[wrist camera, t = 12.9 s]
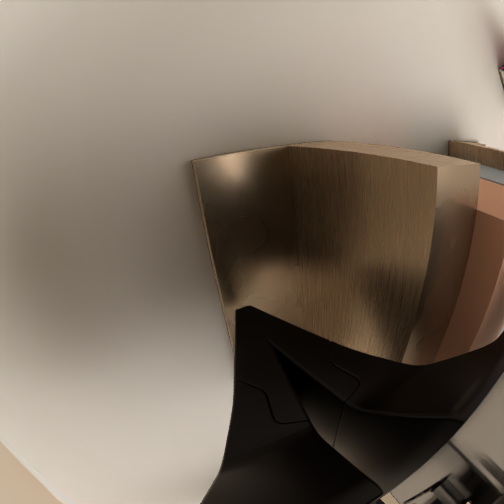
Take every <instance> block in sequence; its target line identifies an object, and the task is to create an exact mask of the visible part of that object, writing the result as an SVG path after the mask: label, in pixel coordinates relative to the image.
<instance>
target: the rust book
mask: <svg viewBox="0 0 504 504" xmlns="http://www.w3.org/2000/svg"><path fill="white" fill-rule="evenodd" d="M503 326H504V186H503V185H500V184H497V183H494V182H491V181H487V180H484V179H481V178H480V182H479V194H478V204H477V212H476V219H475V226H474V232H473V238H472V243H471V248H470V253H469V258H468V262H467V266H466V270H465V274H464V278H463V282H462V286H461V289H460V293H459V296H458V299H457V302H456V305H455V309H454V312H453V315H452V317H451V320H450V323H449V326H448V328H447V331H446V334H445V336H444V339H443V341H442V344H441V346H440V349H439V351H438V353H437V356H436V358H435V360H434V362H433V363H435V362H439V361H442V360H445V359H449V358H452V357H455V356H458V355H461V354H465V353H467V352H470V351H473V350H476V349H479V348H481V347H484V346H486V345H488V344H490V343H492V342H493V341H495V340H496V339H497V338H498V337H499V335H500V333H501V331H502V329H503Z"/></svg>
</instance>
